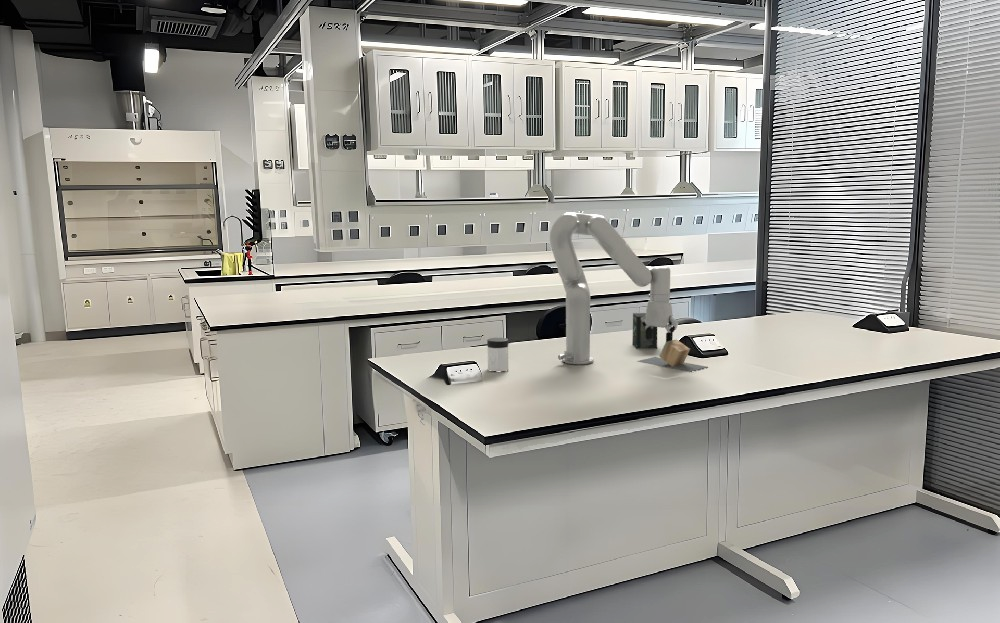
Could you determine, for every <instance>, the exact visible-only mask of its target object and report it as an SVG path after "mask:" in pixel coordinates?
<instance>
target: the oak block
mask: <svg viewBox="0 0 1000 623" xmlns="http://www.w3.org/2000/svg"><path fill="white" fill-rule="evenodd" d="M690 350H691V348H690V347H688V346H686V345H685V344H684V343H682V342H681V341H680V340H678V339H677V338H676V339H672V341H667V342H666V341H665V343H664V345H663V347H662V349H661V351H660V354H659V358H662V359H663V360H664V361H666V362H667V363H668V364H670V365H671V366H672V367H673V366H677V365H681V364H683V363H684V362H685V361H686V359H687V357H688V354H689V352H690Z"/></svg>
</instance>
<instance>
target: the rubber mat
mask: <svg viewBox="0 0 1000 623" xmlns="http://www.w3.org/2000/svg"><path fill="white" fill-rule="evenodd" d="M637 362H638V363H643V364H647V365H653V366H658V367H662V368H663V367H664V368H668V369H673V370H677V371H684V372H687V373H688V372H691V373H693V372H692V371H695V372H697V371H696V370H698V371H701V370H700V369H702V370H705V369H704V368H706V369H708V368H709V367H708V366H704V365H700V364H695V363H689V362H685V361H684V363H683V364H681V365H677V366H673V367H672V366H671V365H670V364H668V363H667V362H666V361H664V360H663V359H662V358H660V357H658V356H653V357H647V358H644V359H641V360H636V363H637Z"/></svg>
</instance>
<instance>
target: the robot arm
mask: <svg viewBox="0 0 1000 623" xmlns="http://www.w3.org/2000/svg"><path fill="white" fill-rule="evenodd" d="M606 218H607V217H605V216H603V215H600V214H590V213H589V214H588V213H587V214H586V213H581V212H580V213H578V212H569V211H568V212H564V213H562V214H561V215H560V216H559V217H558V218H557V219H556V220H555V222H554V223H553V225H552V226H551V229H550V232H549V243H550V247H551V251H552V253H553V258H554V261H555V263H556V267H557V274H558V275H559V277H560V279H561V282H562V284H563V288H564V291H565V324H566V325H565V326H566V327H565V337H566V338H565V341H566V342H565V344H566V345H565V347H566V348H565V350H564V352H563V354H558V355H557V359H558V360H560V361H562V363H564V362H565V364H570V365H589V364H592V363H593V362H594V360H595V359H594V357H591V355H590V354H591V345H590V344H591V292H590V288H589V284H588V282H587V278H586V276H585V273H584V269H583V266H582V263H581V262H580V260H579V259H578V257H577V254H576V250H575V247H574V244H573V240H572V237H573V235H582V236H583V235H585V236H591V237H592V238H593V239H594V241H596V243H597V244H598V245H599V246H600V247H601V248H602V250H603V251H604V252H605V253H606V254H607V255H608V257H609V258H610V259H611V260H612V261H613V262H615V263H616V264H617V265H618V266H619V267H620V269H621V270H622V271H623V272H624V273H625V275H626V276H628V278H629V279H630V280H631V281H632V283H634V285H635V286H637V287H639V288H643V287H646V286H649V285H650V288H649V289H650V291H649V292H650V293H648V296H647V297H648V298H649V300H648V301H647V305H646V311H645V313H646V315H645V316H643V317H641V320H642V322H643V325H644V327H645V329H646V339H652V329H651V327H652V326H654V327H657V328H665V331H666V333H665V343H666V342H667V341H672V340H674V339H673V336H674V335H673V334H674V332H675V330H677V327H678V325H679V321H678V320H676V319H675V318H674V317H673V308H672V307H673V306H672V302H671V301H670V297H671V268H669V266H660V265H659V266H646V265H645V264H644V263H643V261H642V260H641V259H640V258H639V257H638V256H637V254H635V252H634V251H633V250H632V248H631V247H630V245H629V243H627V241H626V240H625V239H624V237H622V235H621V234H620V233H619V232H618V231H617V229H616V228H615V227H613V224H611V223H610V222H609V220H607V219H606Z"/></svg>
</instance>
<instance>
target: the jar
mask: <svg viewBox="0 0 1000 623" xmlns="http://www.w3.org/2000/svg"><path fill="white" fill-rule="evenodd" d="M486 344H487V345H486V346H487V371H488V370H491V371H505V372H507V371H506V370H508V371H509V338H507V337H506V338H505V337H490V338H488V339H487V340H486Z"/></svg>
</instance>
